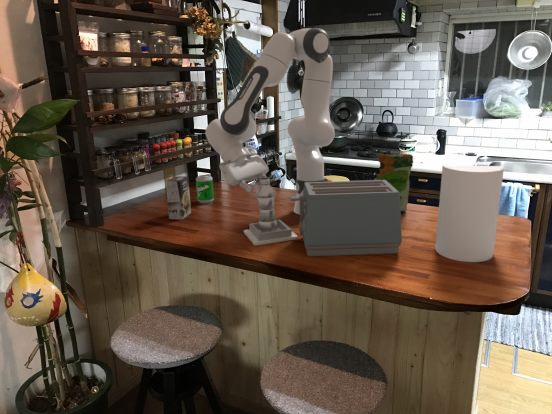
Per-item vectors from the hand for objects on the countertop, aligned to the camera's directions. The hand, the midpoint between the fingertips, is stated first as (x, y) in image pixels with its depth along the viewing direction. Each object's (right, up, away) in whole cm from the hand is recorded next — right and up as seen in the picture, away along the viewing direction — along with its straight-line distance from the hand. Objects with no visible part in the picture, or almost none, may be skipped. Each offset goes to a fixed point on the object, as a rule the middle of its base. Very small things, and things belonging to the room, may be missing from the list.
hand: (259, 188), depth 162 cm
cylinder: (+67, -21, -15) cm, 71 cm away
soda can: (-26, -4, +47) cm, 54 cm away
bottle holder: (+4, -17, +3) cm, 18 cm away
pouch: (+54, -9, +25) cm, 60 cm away
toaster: (+29, -20, -8) cm, 36 cm away
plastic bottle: (+3, -16, +3) cm, 17 cm away
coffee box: (-34, -11, +28) cm, 45 cm away
